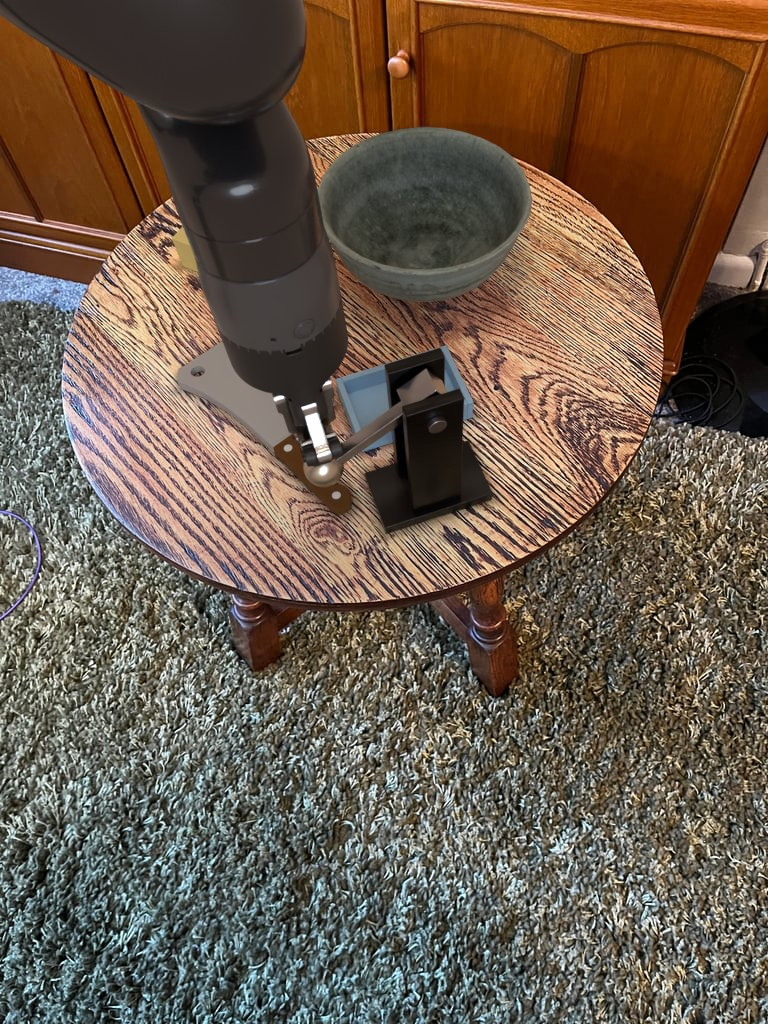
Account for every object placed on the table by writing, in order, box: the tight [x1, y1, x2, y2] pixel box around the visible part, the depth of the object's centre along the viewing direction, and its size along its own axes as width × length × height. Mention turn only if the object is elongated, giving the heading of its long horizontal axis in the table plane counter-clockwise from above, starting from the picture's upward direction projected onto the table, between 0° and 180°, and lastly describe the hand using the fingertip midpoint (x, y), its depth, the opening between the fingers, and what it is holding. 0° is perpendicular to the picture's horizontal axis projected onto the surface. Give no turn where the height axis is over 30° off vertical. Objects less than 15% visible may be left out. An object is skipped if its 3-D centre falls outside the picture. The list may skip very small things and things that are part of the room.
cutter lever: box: [303, 369, 447, 487], centre depth 59 cm, size 13×3×3 cm
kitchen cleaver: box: [177, 340, 353, 516], centre depth 74 cm, size 24×1×10 cm
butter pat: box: [171, 225, 198, 273], centre depth 83 cm, size 4×4×4 cm
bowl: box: [317, 126, 533, 303], centre depth 78 cm, size 21×21×10 cm
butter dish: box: [335, 345, 474, 454], centre depth 73 cm, size 11×7×2 cm, turn 108°
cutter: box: [364, 347, 494, 535], centre depth 62 cm, size 10×6×16 cm, turn 108°
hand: (320, 456), depth 59 cm, fingers closed
